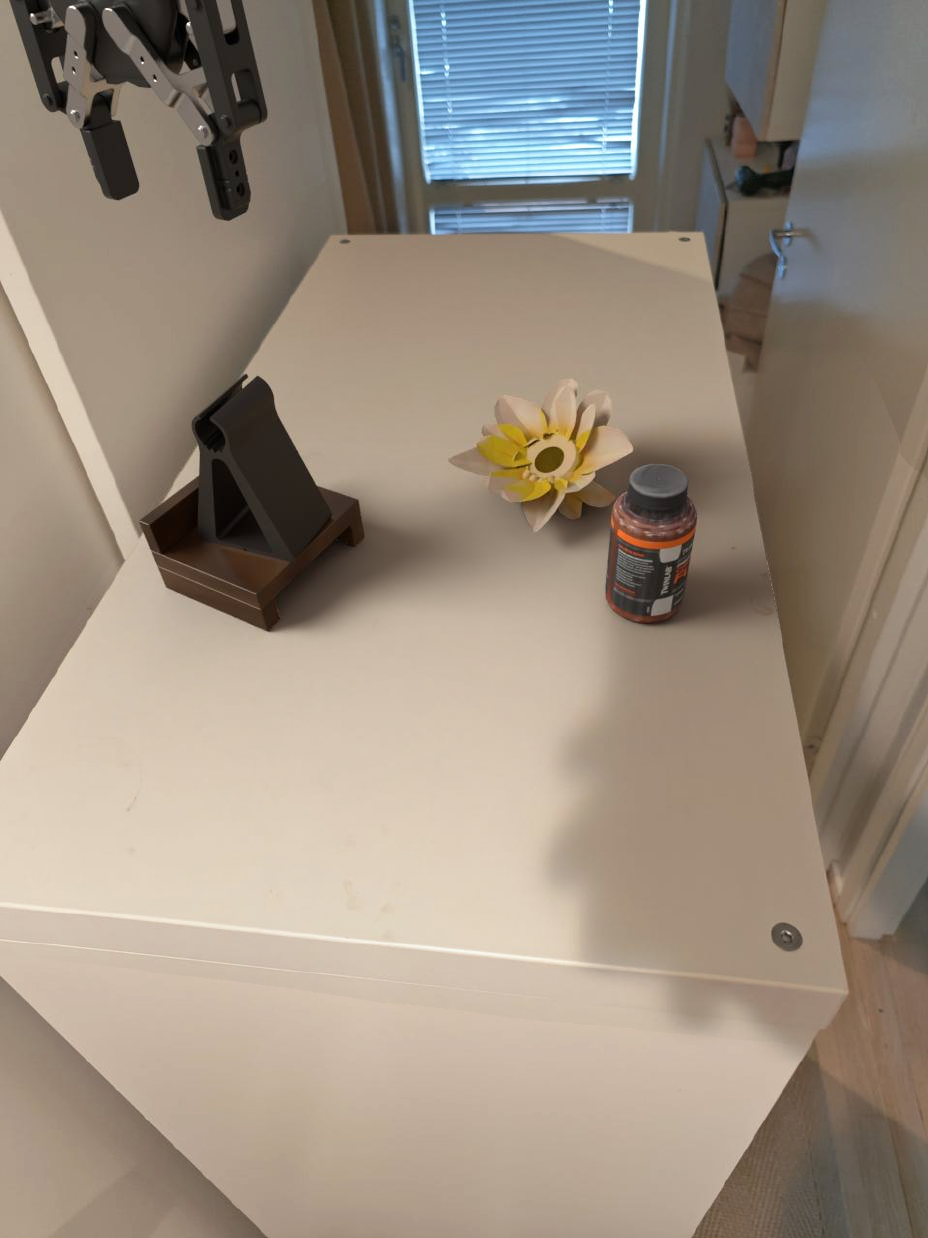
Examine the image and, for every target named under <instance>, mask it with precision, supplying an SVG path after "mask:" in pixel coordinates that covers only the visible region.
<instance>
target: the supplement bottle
mask: <svg viewBox="0 0 928 1238" xmlns="http://www.w3.org/2000/svg"><path fill="white" fill-rule="evenodd" d="M688 489H689V478H688V476H687V475H686V473H685V472H683V471H682V470H681V469H679V468H678V467H675V466H673V465H669V464H664V463H648V464H644V465H641V466H639V467H637V468H636V469H634V470H633V471H632V472H631V473H630V476H629V480H628V486H627V489H626V491H624V492H622V494H621V495H619V496H618V497H617V499H615V500H616V501H614V504H613V507H612V511H611V517H610V528H609V529H610V530H609V542H608V552H607V561H606V562H607V563H606V575H605V587H604V589H605V591H604V593H605V594H604V595H605V600H606V602H607V603H608V604H607V605H608V606H609V607H610V609H611V610H612V611H613V612H614V613H615V614H617V615H618V616H620V617H621V618H624V619H626V620H628V621H631V622H636V623H644V624H648V623H649V624H652V623H659V622H663V621H665V620H667V619H670V618H671V617H673V615H674V616H675V614H676V613H677V612H678V611H679V609H680V608H681V607H682V604H683V599H684V597H685V592H686V585H687V580H688V574H689V568H690V562H691V557H692V552H693V546H694V541H695V536H696V528H697V523H698V512H697V508H696V505H695V503H694V502H693V500H692V499H691V498H690V497H689V496H688V494H689V492H688Z"/></svg>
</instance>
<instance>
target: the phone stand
mask: <svg viewBox="0 0 928 1238" xmlns="http://www.w3.org/2000/svg"><path fill="white" fill-rule="evenodd" d="M248 375H249V374H248V373H244V374H242V375H241V376H239V378H238V379H237V380H235V381H234V382H233V383H232V384H231V385H230V386H228V387H227V389H225V390H224V391H223V392H222V393H221V394H220V395H218V396H217V397H216V398H215V399H214V400H213V401H212V402H210V403H209V404H208V405H207V406H206V407H204V408H203V409H202V410H201V411H200V412H199V413H197V415H195V416H194V417H193V418H192V420H191V430H192V433H193V435H194V438H195V440H196V443H197V446H198V450H199V461H198V462H199V463H198V464H199V465H198V476H199V496H198V532H197V535H198V537H199V538H200V539H202V540H205V541H209V542H213V543H217V544H221V545H225V546H229V547H233V548H237V549H241V550H245V549H247V550H248V551H249V552H253V553H257V554H261V555H265V556H269V557H273V558H277V559H281V560H285V561H289V562H294V561H295V560H296V559H297V557H298V556H299V555H300V554H301V553H302V551H303V550H304V549H305V548H306V547H307V545H308V544H309V543H310V542H311V541H312V539H313V538H314V537H315V536H316V534H317V533H318V532H319V531H320V530H321V528H322V527H323V526H324V525H325V524H326V522H327V521H328V520H329V519H330V517H331V516H332V512H331V510H330V509H329V507H328V505H327V503H326V501H325V500H324V498H323V496H322V494H321V492H320V491H319V489H318V487H317V486H318V485H317V484H316V482H315V479H314V478H313V476H312V474H311V472H310V471H309V469H308V467H307V465H306V463H305V462H304V460H303V458H302V456H301V454H300V452H299V451H298V449H297V447H296V445H295V444H294V441H293V440H292V438H291V436H290V434H289V432H288V431H287V429H286V427H285V425H284V424H283V422H282V420H281V418H280V416H279V414H278V412H277V408H276V403H275V395H274V392H273V389H272V388H271V385H270V384H268V382H267V381H266V380H265V379H264V378H262V377H261V376H259V375H256V376H254V378H253V379H251V381H249V382H248V383H247V384H246V385H245V386H244V387H243V383H244V382H245V381H246V380H247V379H249V376H248Z"/></svg>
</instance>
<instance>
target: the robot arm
mask: <svg viewBox="0 0 928 1238" xmlns="http://www.w3.org/2000/svg"><path fill="white" fill-rule="evenodd" d="M243 2H244V1H243V0H9V4H10V7H11V11H12V14H13V16H14V20H15V23H16V26H17V29H18V32H19V36H20V38H21V41H22V45H23V48H24V51H25V53H26V54H25V55H26V57H27V60H28V63H29V66H30V70H31V73H32V76H33V79H34V83H35V86H36V89H37V92H38V95H39V98H40V101H41V103H42V105H43V106H44V108H45V109H46V110H47V111H48V112H50V113H56V112H61V113H62V114H64V115H66V117H67V118H68V120H69V122H70V124H71V125H72V126H73V127H75V129H79V132H80V134H81V137H82V140H83V143H84V147H85V149H86V153H87V156H88V158H89V162H90V165H91V166H92V171H93V173H94V177H95V179H96V181H97V183H98V184H99V186H100V189H101V191H102V194H103V196H104V197H105V198H106V199H108V200H113V201H121V200H124V199H126V198H128V197H131V196H133V195H135V194H137V193H138V192H139V189H140V181H139V178H138V175H137V171H136V168H135V165H134V164H135V163H134V161H133V157H132V153H131V151H130V147H129V144H128V141H127V137H126V135H125V130H124V127H123V125H122V121H121V120H119V119H118V120H117V119H113V118H114V117H115V116H116V115H117V110H118V105H119V98H120V93H121V89H122V87H123V86H124V85H125V84H126V83H130V84H132V85H134V86H135V87H138V88H144V89H152V91H154V93H155V95H156V96H157V97H158V99H159V101H160V102H161V103H162V104H163V105H165V106H166V107H169V108H172V109H174V110H175V111H176V112H177V113H178V115H179V116H180V117H181V119H182V120H183V122H184V123H185V125H186V126H187V128H188V129H189V131H191V133H192V134H193V136H194V138H196V140H197V142H198V143H200V144H198V145H196V146H195V149H196V153H197V157H198V161H199V165H200V169H201V174H202V178H203V181H204V185H205V189H206V193H207V198H208V201H209V205H210V210H211V213H212V216H213V217H214V218H215V219H216V220H221V221H227V222H230V221H232V220H233V219H236V218H238V217H240V216H242V215H244V214H246V213H247V212H248V210H249V207H250V203H251V201H252V200H251V198H252V192H251V186H250V182H249V177H248V174H247V167H246V163H245V159H244V153H243V149H242V144H241V136H242V134H243V132H244V131H246V130H249V129H251V128H253V127H255V126H257V125H260V124H262V123H265V122H266V121H267V119H268V117H269V114H268V112H269V111H268V107H267V102H266V98H265V94H264V90H263V85H262V80H261V77H260V71H259V67H258V63H257V59H256V55H255V50H254V47H253V42H252V38H251V32H250V28H249V25H248V20H247V16H246V11H245V7H244V3H243ZM55 58H58V59H59V64H60V66H61V70H62V78H63V79H64V80H62V81H59V82H57V81H58V80H57V78H56V75H55V71H54V68H53V64H52V62H53V60H54V59H55ZM184 63H185V65H186V66H187V67H188V69H189V71H185V72H182V69H183V66H184ZM181 72H182V73H181ZM233 75H234V78H235V83H236V87H237V91H238V95H239V98H240V100H238V101H237V96H236V92H235V89H234V85H233V79H232V78H233ZM198 98H199V99H201V100H202V101H203V102H204V103H205V105H206V106H207V108H208V109H209V111H210V112H211V113H208V112H207V111H206V110H205V108H204V107H203V105H202V103H201V102H200V101H199V99H198Z"/></svg>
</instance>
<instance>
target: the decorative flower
mask: <svg viewBox="0 0 928 1238" xmlns="http://www.w3.org/2000/svg"><path fill="white" fill-rule="evenodd" d="M578 385H579V383H578V382H577V381H576V380H574V379H573V378H572V377H569V378H562V379H560V380H559V381H557V382H555V384H553V386H551V388H549V390H548V391H547V393H546V395H545V396H544V398H543V401H542V404H541V408H540V407H539V406H538V405H537V404H536V403H535V402H533V401H529V400H527V399H523V398H519V397H516V396H512V395H508V394H501V395H500V396H499V398H498V399H497V401H496V403H495V404H494V407H493V408H494V409H493V411H494V418H495V421H496V424H486V425H485V424H483V425H482V427H481V434H482V436H481V437H480V439H479V440H478V441H477V442H476V446H475V447H472V448H470V449H468V450H466V451H463V452H459V453H458V454H455V455H453V456H452V457H449V458H447V461H448V463H450V464H451V465H452V466H454V467H456V468H458V469H461V470H464V471H465V472H469V473H472V474H474V475H475V474H476V475H478V476H482V477H486V478H485V479H484V484H485V486H486V489H487V490H488V491H489V492H492V493H493V494H496V495H500V496H501V498H502V499H503V500H505V501H507V502H509V503H519V504H520V507H521V509H522V511H523V513H524V516H525V518H526V520H527V522H528V525H529V527H530V528H531V530H532V532H533V533H536V532H539V531H540V530H541V529H542V528H543V527H544V526H545V525H546V523H548V521H550V519H551V518H552V517H553V515H554V514H555V512H556V511H557V510H558V511H559V513H560V514H562V515H563V516H564V517H565V518H566V519H569V520H571V521H573V520H577V519H579V518H581V516H582V510H583V509H582V508H583V507H582V506H583V503H585V504H586V505H588V506H591V507H596V508H604V507H608V506H609V505H611V504H612V503H613V502H615V500H616V496H615V495H614V494H612V493H611V492H610V491H608V489H606V488H605V487H604V486H602V485H600V484H599V483H597V482H595V481H594V479H595V477H596V471H598V470H600V469H602V468H605V467H606V466H608V465H611V464H613V463H615V462H617V461H619V460H621V459H623V458H624V457H626V456H628V455H630V454H631V453H632V452H634V446H633V444H632V442H631V440H630V439H629V438H628V436H627V434H626V433H625V432H623V431H621V430H619V429H618V428H616V427H612V426H608V423H609V421H610V418H611V415H612V409H613V406H612V405H613V404H612V399H611V397H610V395H609V393H608V392H607V391H606V390H601V389H599V388H595V389H593V390H592V391H590V392H589V393H587V394H586V395H584V397H583V398H582V400H581V401H580V403H579V405H578V407H577V396H578V387H579V386H578ZM518 467H519V468H518Z"/></svg>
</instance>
